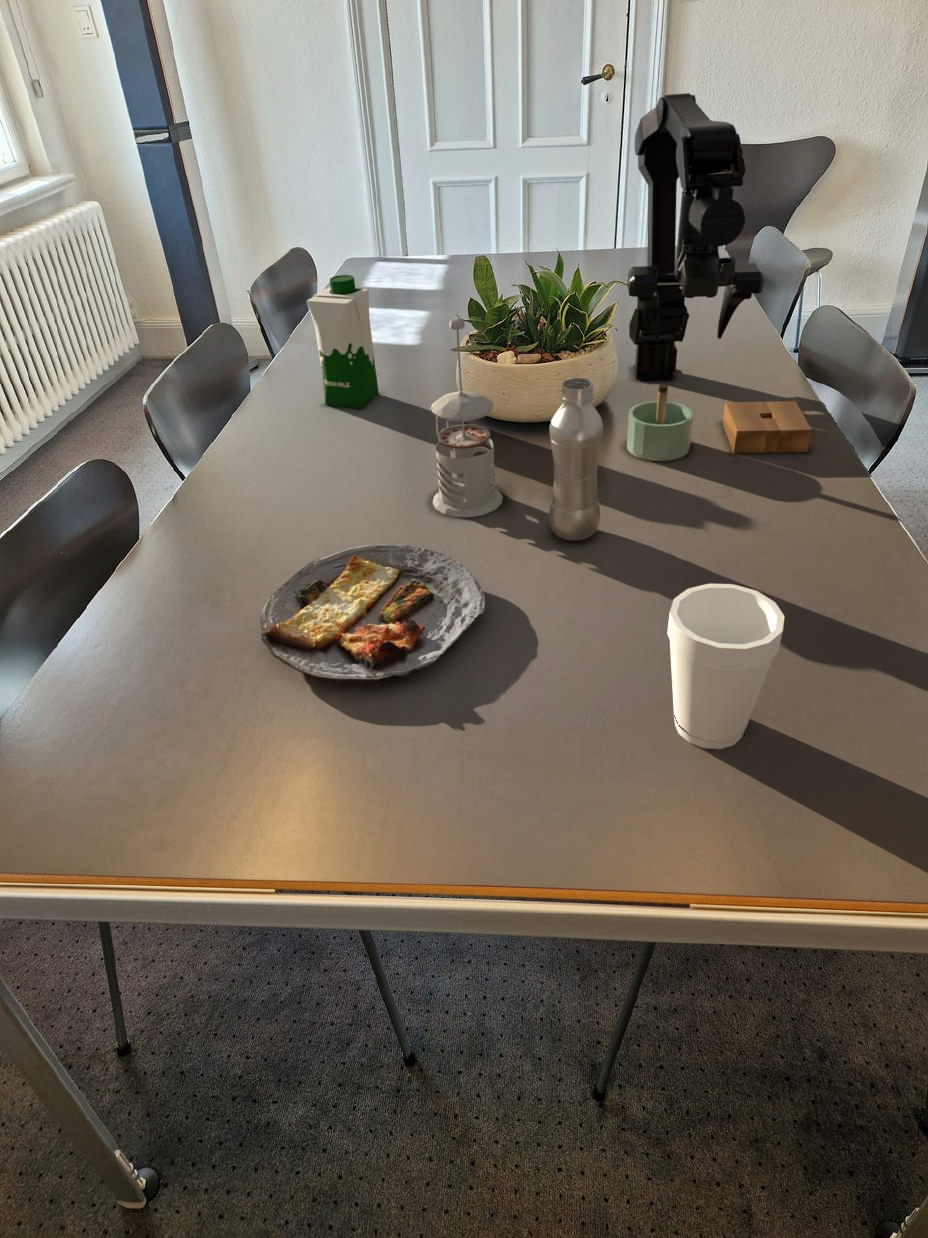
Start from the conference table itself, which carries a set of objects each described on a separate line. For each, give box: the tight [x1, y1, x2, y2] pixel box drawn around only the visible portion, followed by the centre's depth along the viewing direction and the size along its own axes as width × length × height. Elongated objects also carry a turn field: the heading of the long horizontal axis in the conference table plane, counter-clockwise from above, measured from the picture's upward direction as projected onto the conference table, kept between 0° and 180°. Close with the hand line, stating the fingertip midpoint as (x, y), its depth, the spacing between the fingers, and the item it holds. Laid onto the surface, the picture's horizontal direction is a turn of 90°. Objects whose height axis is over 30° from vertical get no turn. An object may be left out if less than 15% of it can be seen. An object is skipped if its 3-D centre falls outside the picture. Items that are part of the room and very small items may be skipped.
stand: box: [722, 400, 813, 454], centre depth 128 cm, size 10×10×4 cm
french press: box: [430, 317, 504, 518], centre depth 111 cm, size 10×12×25 cm
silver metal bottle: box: [548, 377, 604, 542], centre depth 103 cm, size 6×7×20 cm
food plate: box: [260, 543, 486, 684], centre depth 95 cm, size 25×23×4 cm
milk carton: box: [306, 274, 379, 410], centre depth 144 cm, size 9×9×20 cm
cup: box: [626, 400, 695, 462], centre depth 126 cm, size 9×9×6 cm
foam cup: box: [667, 583, 785, 750], centre depth 76 cm, size 10×9×13 cm
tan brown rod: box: [656, 384, 669, 425], centre depth 125 cm, size 1×1×9 cm
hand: (687, 338), depth 128 cm, fingers open, 9 cm apart
